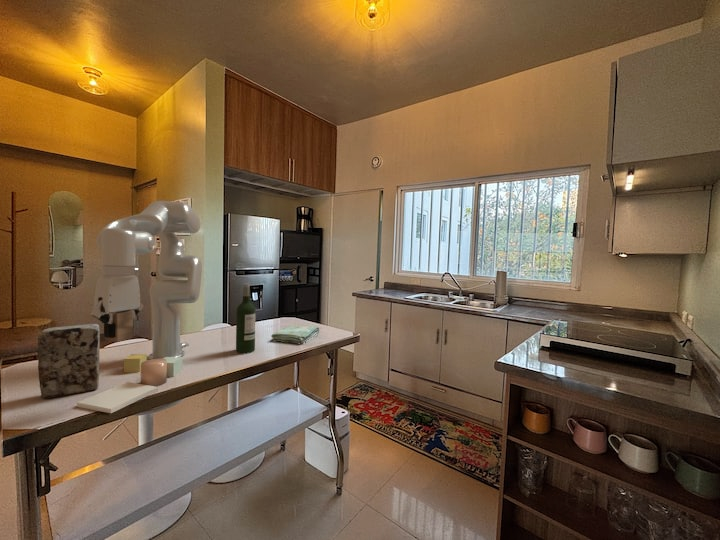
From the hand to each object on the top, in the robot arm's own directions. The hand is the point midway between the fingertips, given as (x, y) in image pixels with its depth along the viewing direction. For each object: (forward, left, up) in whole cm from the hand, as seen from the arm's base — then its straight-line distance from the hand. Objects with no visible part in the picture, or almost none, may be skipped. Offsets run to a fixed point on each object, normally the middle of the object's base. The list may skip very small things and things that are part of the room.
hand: (119, 334), depth 87 cm
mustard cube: (-18, -16, -19) cm, 31 cm away
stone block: (+1, -17, -19) cm, 26 cm away
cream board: (0, 0, -19) cm, 19 cm away
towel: (-76, +19, -20) cm, 81 cm away
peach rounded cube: (-11, 0, -19) cm, 22 cm away
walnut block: (0, 0, -1) cm, 1 cm away
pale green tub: (-19, -2, -19) cm, 27 cm away
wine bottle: (-49, +8, -19) cm, 53 cm away
